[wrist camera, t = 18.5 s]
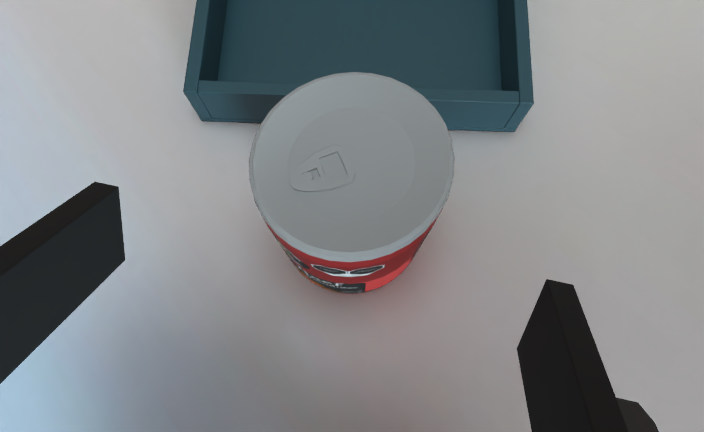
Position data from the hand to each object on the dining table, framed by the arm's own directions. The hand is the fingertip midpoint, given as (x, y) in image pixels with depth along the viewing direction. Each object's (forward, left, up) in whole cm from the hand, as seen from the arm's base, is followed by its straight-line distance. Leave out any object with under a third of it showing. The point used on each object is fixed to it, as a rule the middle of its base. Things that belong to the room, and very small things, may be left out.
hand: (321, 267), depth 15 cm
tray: (-1, -19, -13) cm, 23 cm away
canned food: (-1, -5, -14) cm, 14 cm away
